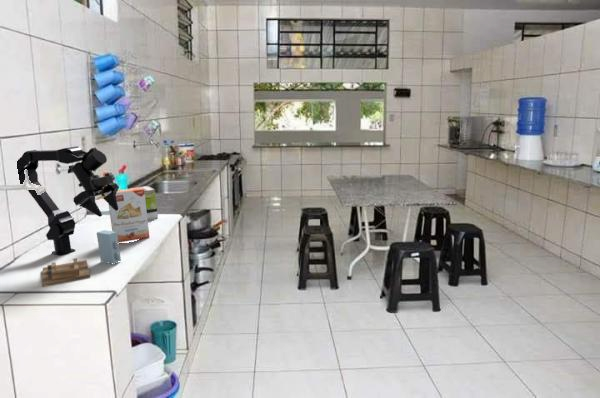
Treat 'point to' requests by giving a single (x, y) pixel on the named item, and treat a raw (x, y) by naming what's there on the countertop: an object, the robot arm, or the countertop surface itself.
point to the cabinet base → (65, 272)
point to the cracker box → (130, 215)
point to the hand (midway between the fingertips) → (109, 213)
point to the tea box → (150, 202)
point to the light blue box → (108, 246)
